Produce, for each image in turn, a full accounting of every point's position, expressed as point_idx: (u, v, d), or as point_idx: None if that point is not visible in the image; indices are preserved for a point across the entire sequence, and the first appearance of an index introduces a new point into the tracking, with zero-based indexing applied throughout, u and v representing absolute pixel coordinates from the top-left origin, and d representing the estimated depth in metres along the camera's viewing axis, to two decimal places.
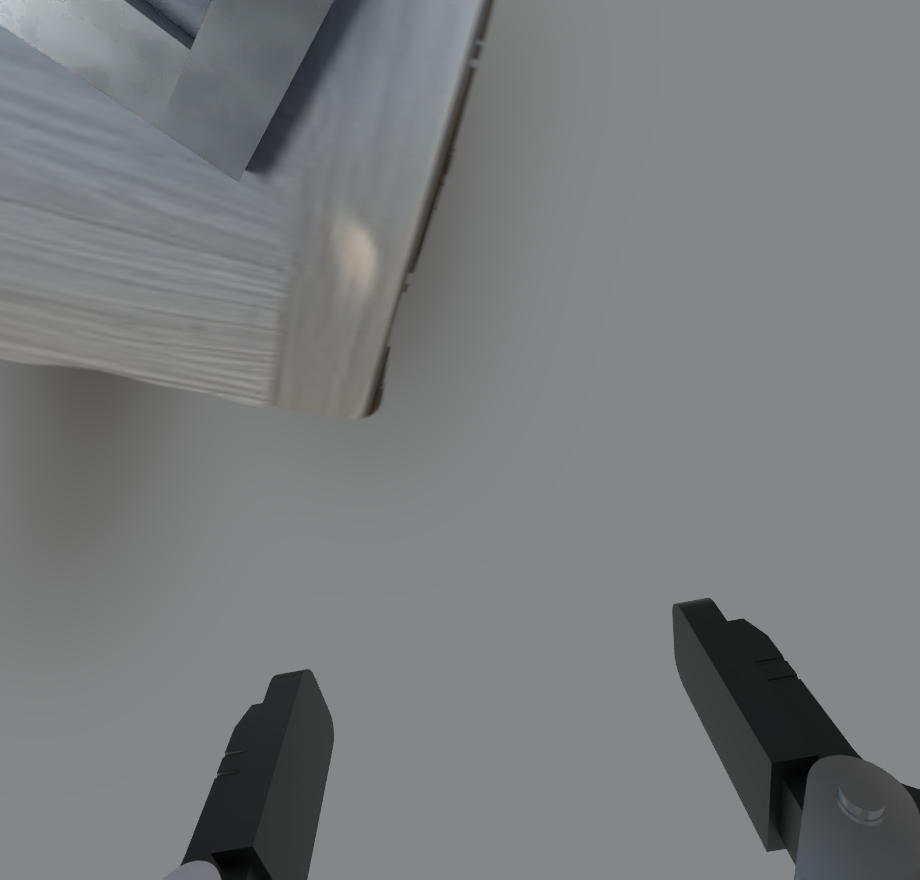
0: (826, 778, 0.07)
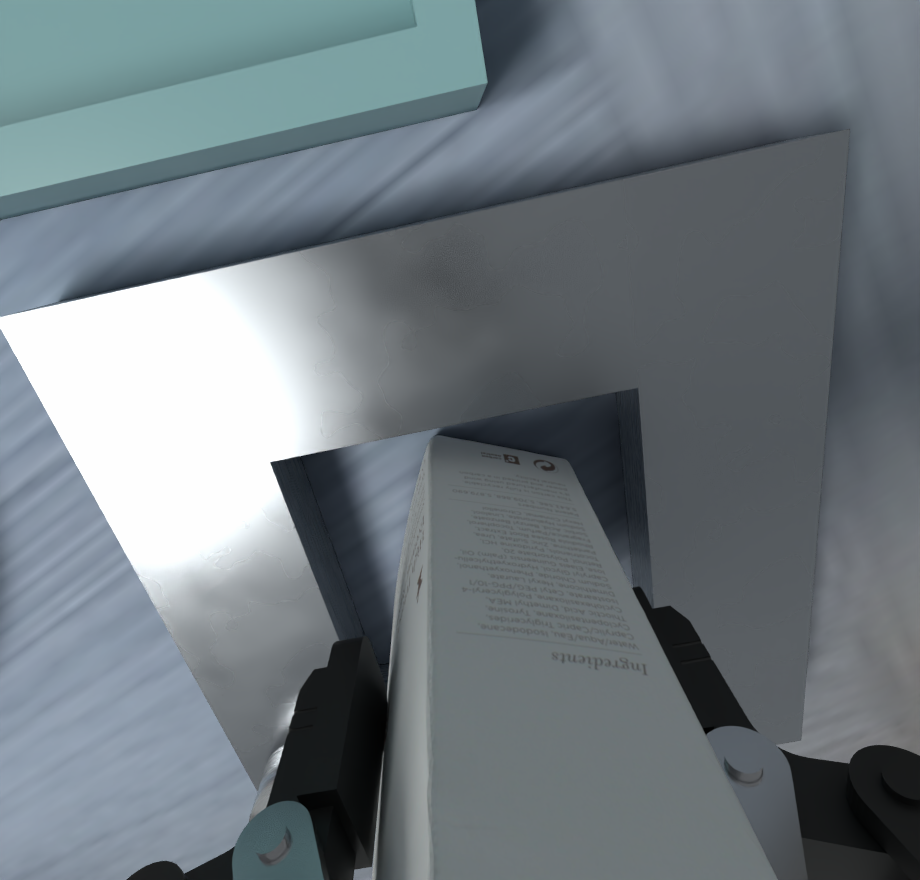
0: (715, 746, 0.08)
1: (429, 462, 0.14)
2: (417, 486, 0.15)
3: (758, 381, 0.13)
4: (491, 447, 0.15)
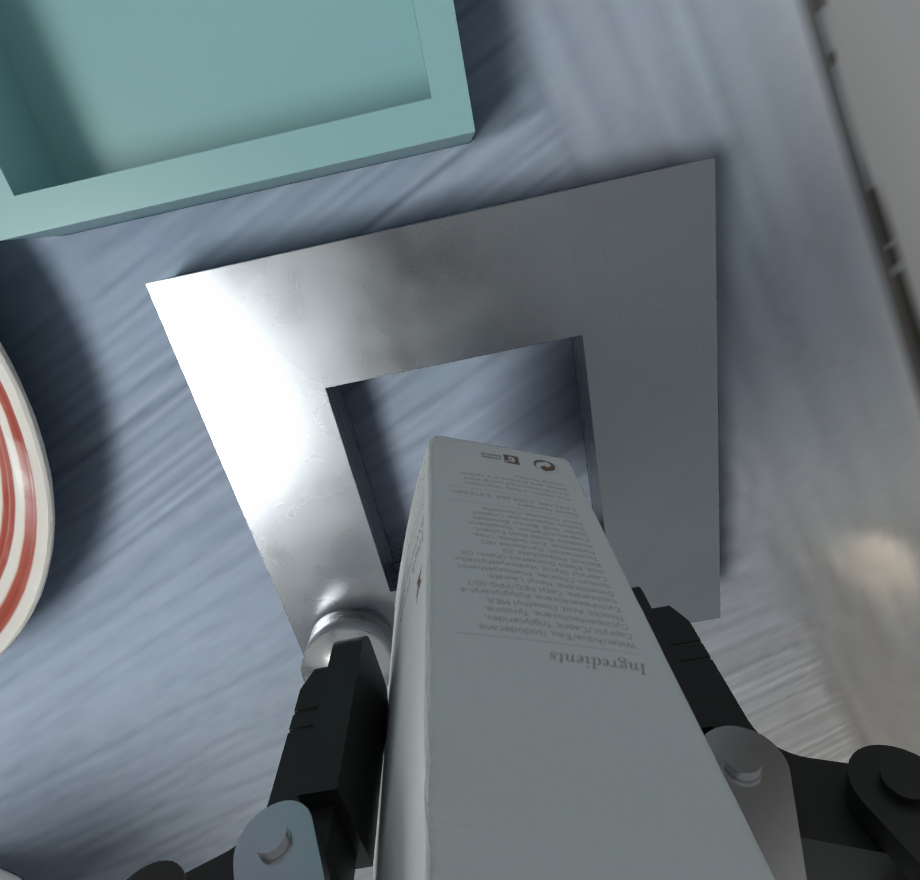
0: (714, 746, 0.08)
1: (429, 462, 0.14)
2: (417, 486, 0.15)
3: (667, 331, 0.18)
4: (491, 447, 0.15)
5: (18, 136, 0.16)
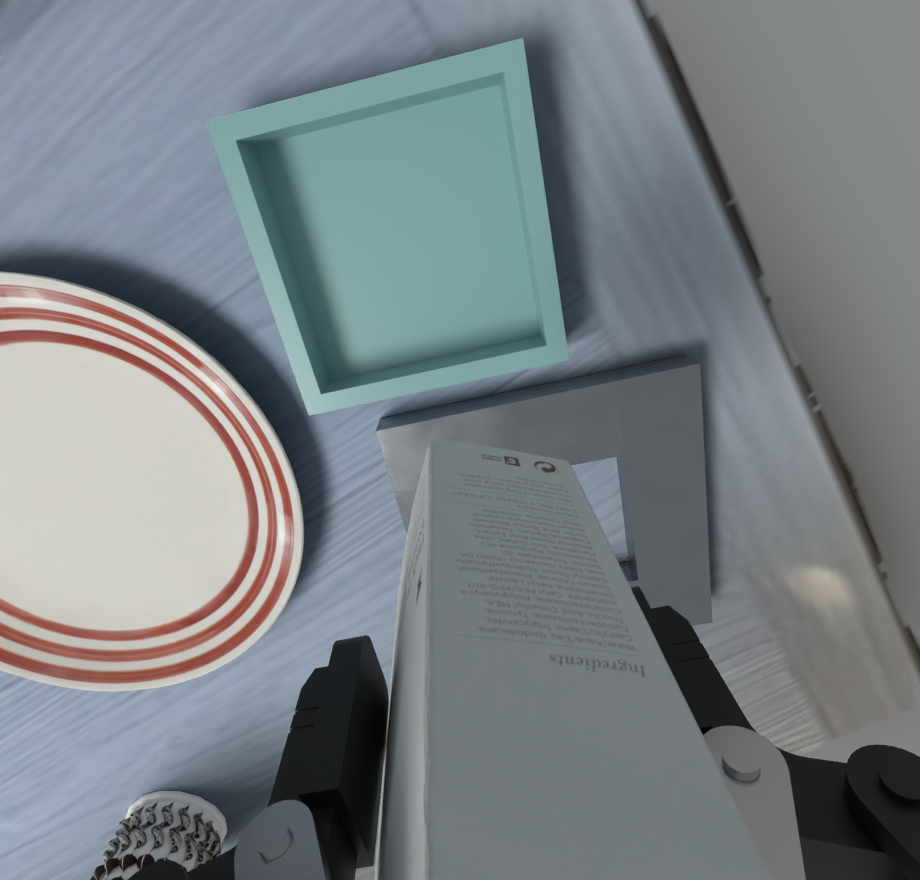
0: (713, 745, 0.08)
1: (429, 465, 0.14)
2: (418, 488, 0.15)
3: (674, 452, 0.31)
4: (492, 449, 0.15)
5: (317, 358, 0.29)
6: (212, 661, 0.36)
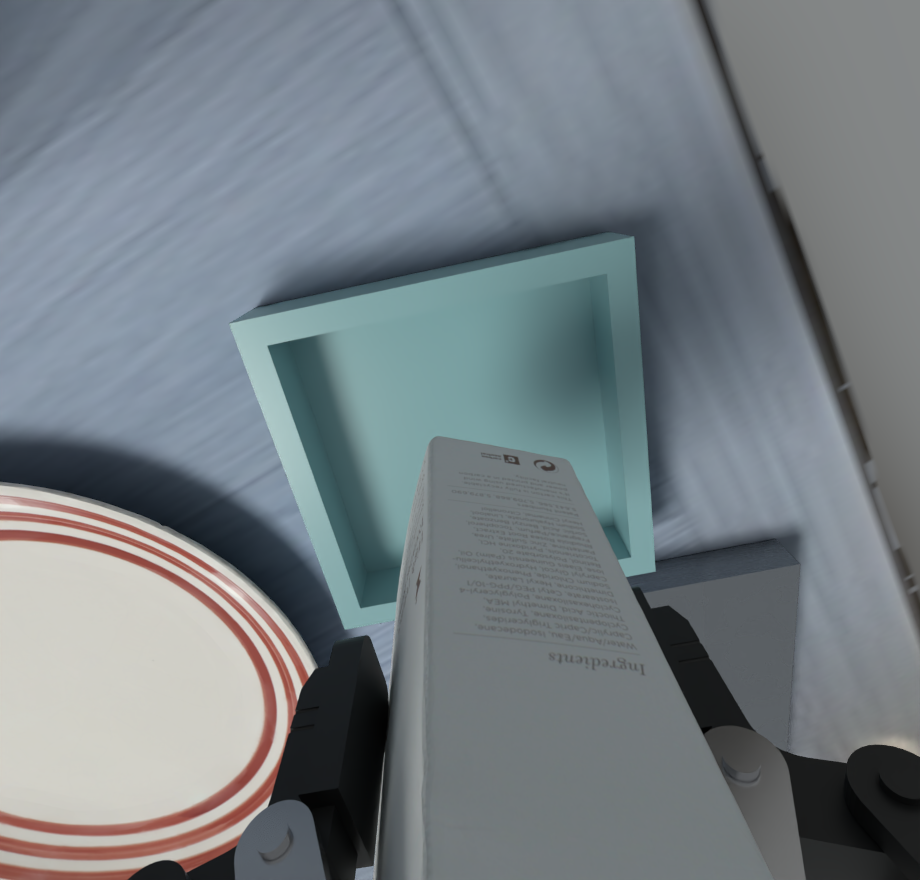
0: (713, 745, 0.08)
1: (429, 463, 0.14)
2: (418, 487, 0.15)
3: (760, 649, 0.27)
4: (491, 447, 0.15)
5: (354, 560, 0.24)
6: None
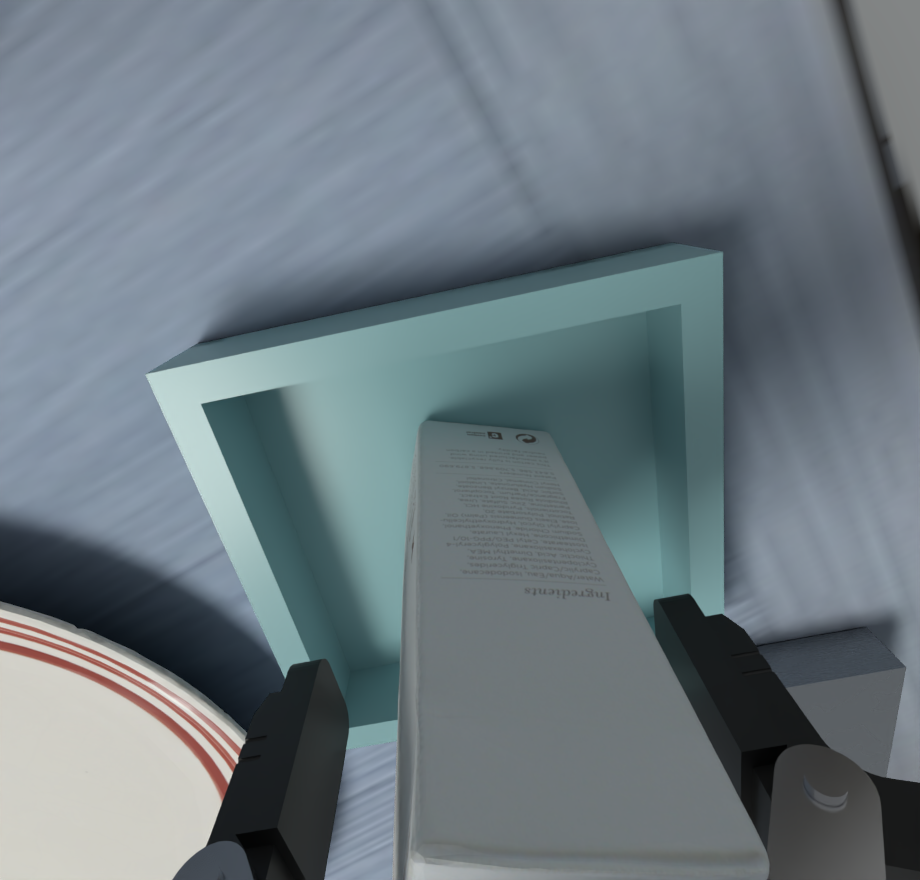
0: (792, 766, 0.08)
1: (419, 444, 0.15)
2: (412, 468, 0.16)
3: None
4: (476, 426, 0.16)
5: (332, 664, 0.19)
6: None
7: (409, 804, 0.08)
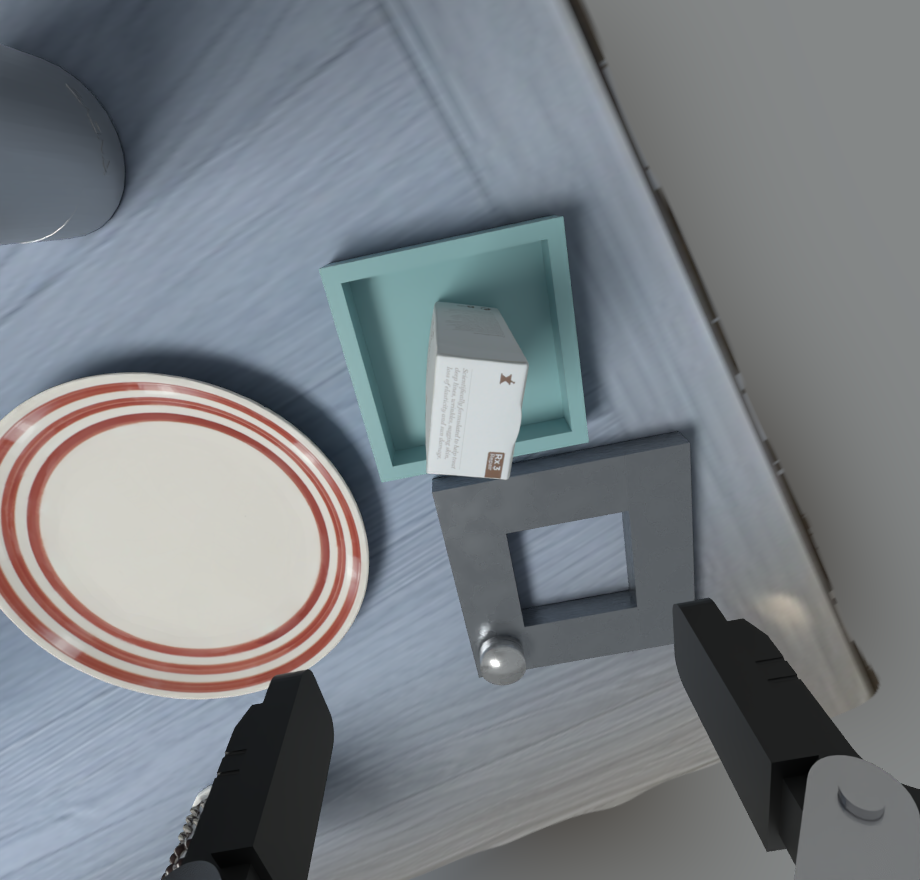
0: (826, 778, 0.07)
1: (434, 307, 0.33)
2: (431, 324, 0.34)
3: (668, 508, 0.39)
4: (462, 304, 0.34)
5: (388, 436, 0.36)
6: None
7: None
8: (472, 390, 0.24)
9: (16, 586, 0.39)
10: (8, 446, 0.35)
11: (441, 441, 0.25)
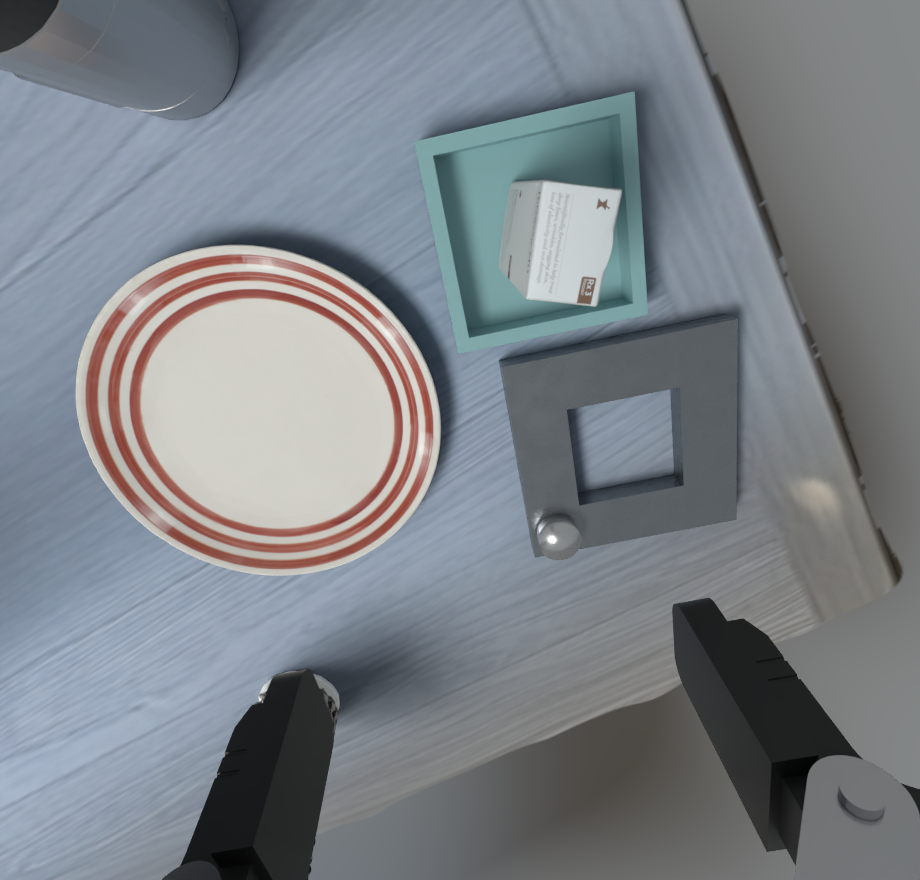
0: (826, 778, 0.07)
1: (514, 182, 0.36)
2: (507, 202, 0.37)
3: (716, 385, 0.43)
4: None
5: None
6: (357, 551, 0.47)
7: (533, 215, 0.29)
8: (572, 214, 0.27)
9: (117, 459, 0.43)
10: (121, 318, 0.39)
11: (542, 265, 0.28)
